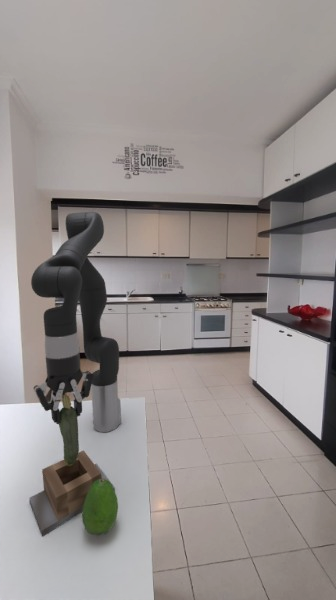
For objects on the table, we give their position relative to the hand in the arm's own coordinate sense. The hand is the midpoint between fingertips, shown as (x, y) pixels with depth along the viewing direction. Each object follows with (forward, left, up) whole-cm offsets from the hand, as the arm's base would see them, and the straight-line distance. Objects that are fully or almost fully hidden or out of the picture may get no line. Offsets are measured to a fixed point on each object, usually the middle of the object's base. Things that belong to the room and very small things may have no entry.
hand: (67, 418), depth 67 cm
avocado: (-2, +12, -22) cm, 25 cm away
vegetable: (0, 0, -13) cm, 13 cm away
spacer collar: (0, 0, -22) cm, 22 cm away
